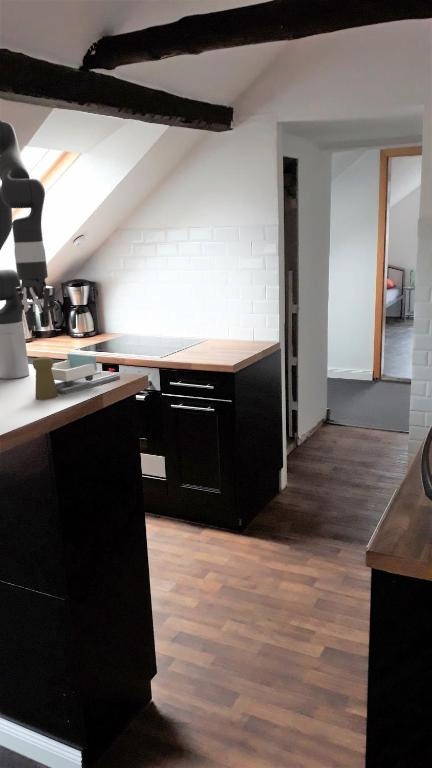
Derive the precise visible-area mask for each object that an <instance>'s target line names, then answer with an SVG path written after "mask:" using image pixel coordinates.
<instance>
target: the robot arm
mask: <svg viewBox="0 0 432 768" xmlns="http://www.w3.org/2000/svg"><path fill="white" fill-rule="evenodd" d="M21 155H22V154H21V150H20V146H19V142H18V137H17V134H16V131H15V128H14V126H13V125H12V124H11V123H10V122H8V121H6V120H5V121H4V120H0V180H1V185H0V251H1V250H2V248H3V246H4V245H5V243H6V241H7V239H8V238H9V236H10V233H11V232H12V235H13V242H14V258H15V266H16V267H15V268H16V269H15V270H14V269H0V302H1V301H5V304H4V305H3V307H2V308H0V379H3V380H8V379H9V380H13V379H19V378H24V377H28V376H29V375H30V368H29V361H28V352H27V344H26V337H25V336H26V335H25V327H24V320H23V319H24V317H23V312H24V313H25V314H26V315H25V316H26V323H27V326H28V327H35V326H37V319H36V318H37V317H36V311H35V307H36V306H37V308H38V312H39V321H40V326H41V327H40V328H48V327H50V316H49V315H50V314H49V312H50V311H52V310H54V309H55V299H56V298H55V296H56V295H55V294H56V293H55V292H56V288H55V287H54V286H48V285H47V283H46V279H48V278H49V277H48V276H49V273H48V266H47V257H46V250H45V247H44V239H43V231H42V230H43V229H42V218H43V217H42V216H43V210H44V203H45V197H46V191H45V187H44V185H43V184H42V182H41V181H40V180H39V179H37V178H30V174H29V171H28V170H27V168H26V166H25V164H24V162H23V159H22V156H21ZM13 209H30V213H29V214H28V215H26V216H24V217H19V218H16V219H13V211H12V210H13Z"/></svg>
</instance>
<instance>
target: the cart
mask: <svg viewBox="0 0 432 768" xmlns="http://www.w3.org/2000/svg"><path fill="white" fill-rule="evenodd" d="M66 356H67V360H64V361H58V362H55V363H53V367H52V373H53V377H54V381H58V382H59V381H60V382H62V381H65V382H64V384H65V386H66V387H71V386H72V380H74V379H78V378H82V377H85V379H86V380H87V381H91V380H92V379H93V374H96V373H97V372H98V368H97V367H98V365H97V357H96V355H88V354H79V353H67V354H66Z"/></svg>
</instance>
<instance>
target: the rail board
mask: <svg viewBox="0 0 432 768" xmlns="http://www.w3.org/2000/svg"><path fill="white" fill-rule="evenodd" d="M120 379H121V375H119V374H118V373H112V374H111V373H104V372H101V371H97V373H96V374H93V379H92V380H91V381H87V380H86V379H85V377H82V378H78V379H74V380H72V386H71V387H66V386H65V384H64V382H65V381H60V382H59V381H58V382H55V385H56V389H57V393H58V395H63V396H67V395H71V394H73V393H74V394H75V393H77V392H79V391H84V390H86V389H90V388H93V387H97V386H100V385H103V384H104V385H105V384H106V383H107V384H108V383H111V382H114V381H117V380H120ZM113 380H114V381H113Z"/></svg>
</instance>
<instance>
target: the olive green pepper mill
mask: <svg viewBox="0 0 432 768" xmlns="http://www.w3.org/2000/svg"><path fill="white" fill-rule="evenodd" d="M53 364H54V362H53V359H52V357H50V356H39V357H37V358H34V359H33V361H32V366H33V367H32V368H33V369H34V370H35V400H39V401H48V400H53V399H56V397H57V398H59V394H58V393H57V389H56V385H55V383H56V380H54V377H53V373H52V367H53Z"/></svg>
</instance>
